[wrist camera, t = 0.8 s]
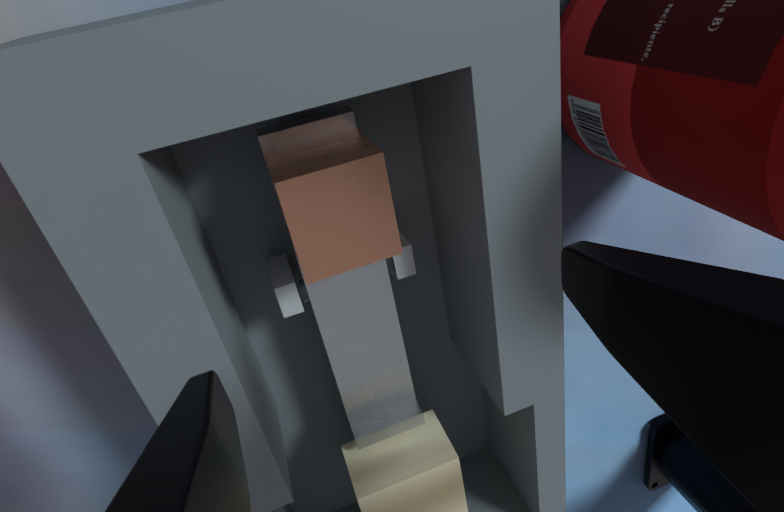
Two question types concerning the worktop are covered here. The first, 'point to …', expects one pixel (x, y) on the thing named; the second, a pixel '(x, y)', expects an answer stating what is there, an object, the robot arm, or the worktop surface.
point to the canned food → (682, 97)
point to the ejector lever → (346, 262)
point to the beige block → (408, 472)
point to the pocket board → (269, 232)
